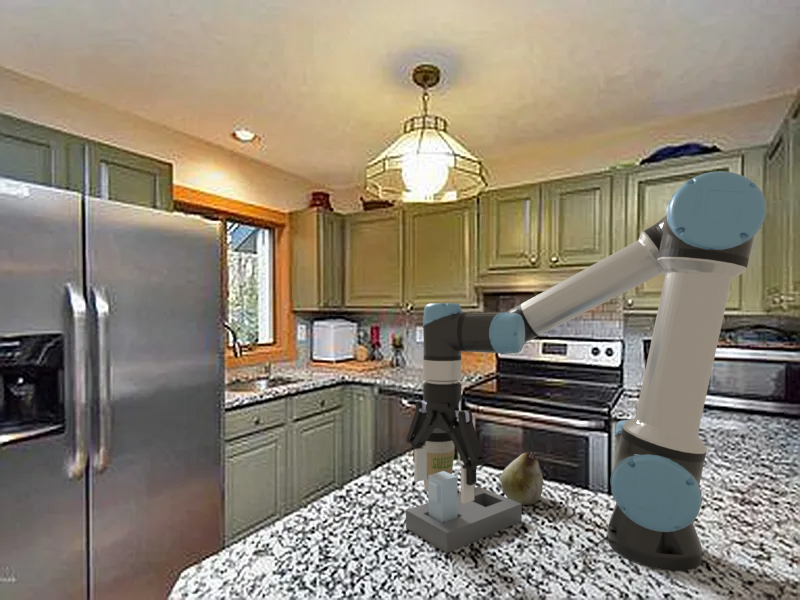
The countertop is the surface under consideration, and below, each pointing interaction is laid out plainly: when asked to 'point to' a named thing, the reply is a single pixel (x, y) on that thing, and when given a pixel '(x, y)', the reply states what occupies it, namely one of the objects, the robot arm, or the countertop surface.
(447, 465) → the coffee cup
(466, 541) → the socket panel
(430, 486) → the plug
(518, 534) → the countertop surface
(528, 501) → the fruit
